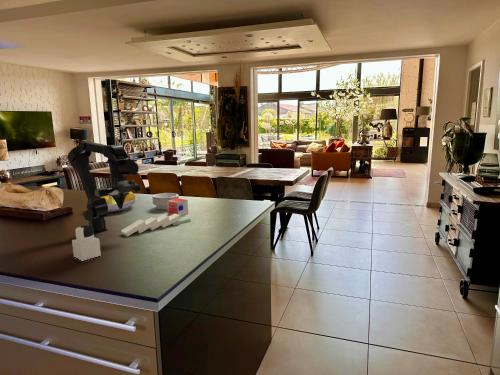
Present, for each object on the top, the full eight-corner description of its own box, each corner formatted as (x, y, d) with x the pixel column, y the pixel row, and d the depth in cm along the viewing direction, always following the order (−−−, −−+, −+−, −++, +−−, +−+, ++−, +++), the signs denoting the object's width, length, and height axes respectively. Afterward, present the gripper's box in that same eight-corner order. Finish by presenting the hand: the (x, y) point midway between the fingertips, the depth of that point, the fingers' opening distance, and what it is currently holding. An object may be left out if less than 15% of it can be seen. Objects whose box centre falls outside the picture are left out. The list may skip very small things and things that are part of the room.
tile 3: (150, 226, 160) (168, 216, 165) (145, 224, 163) (163, 214, 169) (152, 230, 160) (169, 219, 166) (147, 228, 164) (164, 217, 170)
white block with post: (92, 252, 134) (89, 223, 132) (101, 256, 129) (98, 226, 127) (73, 258, 129) (70, 227, 126) (82, 262, 124) (78, 231, 122)
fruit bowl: (128, 214, 190) (127, 194, 188) (80, 215, 191) (78, 195, 189) (145, 203, 218) (143, 185, 216) (103, 203, 218) (101, 186, 216)
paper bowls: (182, 205, 210) (181, 192, 209) (174, 211, 196) (173, 197, 194) (158, 204, 212) (157, 192, 210) (149, 211, 197) (148, 197, 196)
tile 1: (125, 232, 151) (144, 221, 157) (121, 230, 155) (139, 219, 161) (127, 236, 152) (146, 224, 158) (122, 234, 156) (141, 222, 162)
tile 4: (162, 224, 163) (179, 215, 169) (157, 222, 167) (174, 213, 173) (163, 227, 164) (181, 218, 170) (158, 225, 168) (176, 216, 174)
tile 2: (138, 229, 155) (156, 218, 161) (133, 227, 159) (151, 216, 165) (140, 233, 156) (158, 222, 162) (135, 231, 160) (153, 220, 166)
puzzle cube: (177, 211, 194) (176, 198, 193) (188, 213, 190) (187, 199, 189) (167, 215, 188) (166, 201, 186) (178, 216, 184) (177, 202, 182)
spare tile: (173, 222, 168) (190, 218, 174) (168, 220, 171) (185, 216, 178) (173, 226, 168) (190, 222, 175) (168, 224, 172) (185, 220, 178)
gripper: (102, 178, 136) (106, 216, 139) (145, 173, 149) (148, 208, 152) (92, 175, 144) (96, 211, 147) (134, 171, 157) (137, 204, 159)
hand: (120, 208), depth 151 cm, fingers closed
